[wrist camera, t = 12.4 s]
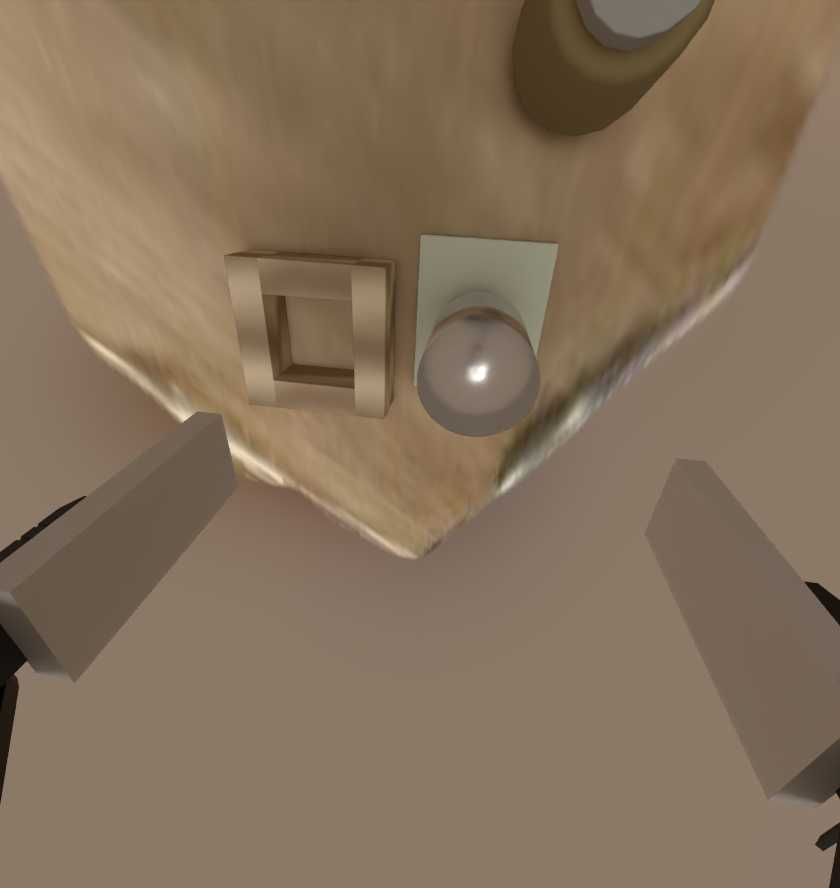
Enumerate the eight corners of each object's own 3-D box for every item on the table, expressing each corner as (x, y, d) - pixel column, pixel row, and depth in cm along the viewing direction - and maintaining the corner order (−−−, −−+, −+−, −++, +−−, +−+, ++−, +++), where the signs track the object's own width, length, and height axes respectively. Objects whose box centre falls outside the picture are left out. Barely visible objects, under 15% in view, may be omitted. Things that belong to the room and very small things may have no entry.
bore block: (250, 249, 34) (223, 255, 31) (395, 260, 33) (385, 267, 30) (269, 386, 40) (249, 404, 37) (393, 399, 39) (384, 418, 36)
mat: (422, 233, 32) (420, 234, 31) (556, 242, 31) (558, 244, 30) (415, 381, 38) (413, 385, 37) (527, 392, 37) (528, 397, 36)
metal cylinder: (441, 276, 32) (419, 316, 21) (527, 282, 32) (551, 327, 20) (435, 358, 35) (414, 430, 24) (513, 365, 35) (527, 442, 24)
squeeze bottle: (492, 18, 25) (504, -257, 10) (634, -67, 23) (941, -605, 8) (528, 165, 29) (579, 130, 13) (656, 105, 26) (897, -24, 11)
